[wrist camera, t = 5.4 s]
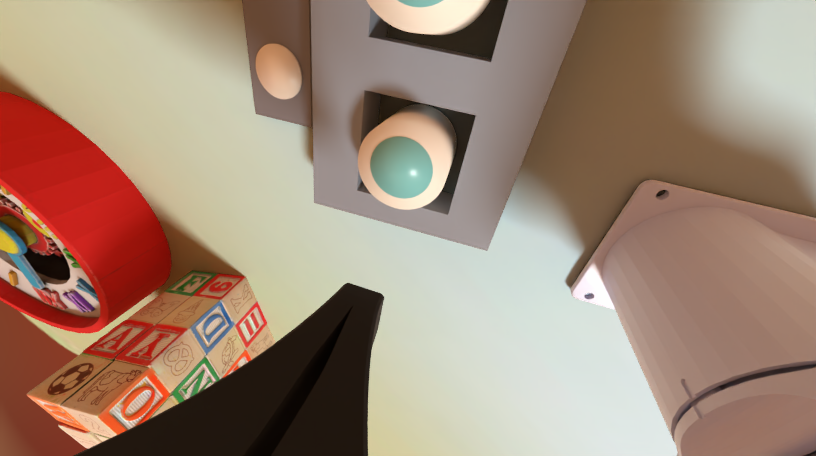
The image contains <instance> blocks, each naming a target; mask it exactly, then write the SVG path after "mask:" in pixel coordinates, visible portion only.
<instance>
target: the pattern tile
mask: <svg viewBox="0 0 816 456" xmlns="http://www.w3.org/2000/svg"><path fill="white" fill-rule="evenodd" d="M242 3H243V11H244V20H245V28H246V36H247V45H248V53H249V61H250V70H251V78H252V86H253V95H254V103H255V111H256V114H259V115H263V116H267V117H271V118H275V119H279V120H283V121H287V122H291V123H295V124H299V125H303V126H307V127H313V106H312V47H311V0H242Z"/></svg>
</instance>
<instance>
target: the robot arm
mask: <svg viewBox="0 0 816 456" xmlns="http://www.w3.org/2000/svg"><path fill="white" fill-rule="evenodd" d="M661 190H666V191H665V193H664V194H663V195H661V196H656V194H657V193H658V192H659V191H661ZM586 293H591V294H589V295H585V294H586ZM571 294H572V296H573V297H574V298H576V299H579V300H583V301H586V302H590V303H593V304H597V305H600V306H604V307H607V308H611V309H614V310H616V312H617V315H618V317H619V319H620V321H621V324H622V326H623V328H624V330H625V333H626V335H627V337H628V339H629V342H630V344H631V346H632V348H633V351H634V353H635V355H636V357H637V360H638V362H639V364H640V366H641V369H642V371H643V373H644V375H645V378H646V380H647V382H648V384H649V387H650V389H651V391H652V393H653V396H654V398H655V400H656V402H657V405H658V407H659V409H660V411H661V413H662V416H663V418H664V420H665V422H666V425H667V427H668V429H669V431H670V434H671V436H672V438H673V440H674V442H675V444H676V447H677V451H678V454H677V456H816V218H814V217H810V216H806V215H801V214H797V213H793V212H789V211H785V210H780V209H776V208H772V207H768V206H763V205H759V204H755V203H751V202H746V201H742V200H738V199H734V198H729V197H725V196H721V195H717V194H712V193H708V192H704V191H700V190H695V189H691V188H687V187H683V186H678V185H674V184H670V183H666V182H661V181H657V180H647V181H644V182H642V183H641V184H640V185H639V186H638V187H637V189H636V190H635V192H634V193H633V195H632V196H631V198H630V199H629V201H628V202H627V204H626V205H625V207H624V208H623V210H622V211H621V213H620V214H619V216H618V217H617V219H616V220H615V222H614V224H613V225H612V227H611V228H610V230H609V231H608V233H607V234H606V236H605V237H604V239H603V240H602V242H601V243H600V245H599V246H598V248H597V249H596V251H595V252H594V254H593V255H592V257H591V258H590V260H589V261H588V263H587V264H586V266H585V267H584V269H583V270H582V272H581V273H580V275H579V277H578V278H577V280H576V281H575V283H574V284H573V286H572V287H571ZM383 300H384V296H383V295H382V294H381V293H378V292H374V291H371V290H368V289H365V288H362V287H359V286H356V285H353V284H350V283H347V284H344V285H343V286H342V287H341V288H340V289H339V290H338V291H337V292H336V293H335V294H334V295H333V296H332V297H331V298H330V299H329V300H328V301H327V302H326V303H324V304H323V305H322V306H321V307H320V308H319V309H318V310H317V311H315V312H314V313H313V314H312V315H311V316H309V317H308V318H307V319H306V320H304V321H303V322H302V323H301V324H300V325H298V326H297V327H296V328H295V329H293V330H292V331H291V332H289V333H288V334H287V335H285V336H284V337H283V338H281V339H280V340H279V341H277V342H276V343H275V344H273V345H272V346H271V347H269V348H268V349H267V350H265V351H264V352H262V353H261V354H259V355H258V356H256V357H255V358H254V359H252V360H251V361H249V362H247V363H246V364H244V365H243V366H241V367H240V368H238V369H237V370H235V371H234V372H232V373H230V374H229V375H227V376H225V377H224V378H222V379H220V380H219V381H217V382H216V383H214V384H212V385H211V386H209V387H207V388H206V389H204V390H202V391H200V392H199V393H197V394H195V395H193V396H192V397H190V398H188V399H186V400H184V401H182V402H180V403H179V404H177V405H175V406H173V407H171V408H169V409H167V410H165V411H164V412H162V413H160V414H158V415H156V416H154V417H152V418H150V419H148V420H147V421H145V422H143V423H141V424H139V425H137V426H135V427H133V428H131V429H129V430H127V431H124V432H122V433H120V434H118V435H116V436H114V437H112V438H110V439H108V440H106V441H103V442H101V443H99V444H97V445H95V446H93V447H91V448H89V449H87V450H84V451H82V452H80V453H78V454H76V455H74V456H368V426H367V421H368V385H369V369H370V358H371V350H372V345H373V342H374V339H375V336H376V333H377V330H378V325H379V320H380V315H381V310H382V305H383Z"/></svg>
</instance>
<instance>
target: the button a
mask: <svg viewBox="0 0 816 456" xmlns="http://www.w3.org/2000/svg"><path fill="white" fill-rule="evenodd" d="M456 147H457V140H456V134H455V131H454V128H453V126H452V124H451V122H450V121H449V119H448V118H447V117H446V116H445V115H444V114H443V113H442V112H440V111H439V110H437V109H435V108H433V107H431V106H427V105H422V104H416V105H410V106H406V107H404V108H402V109H400V110H399V111H397V112H396V113H395V114H393V115H392V116H391V117H389V118H388V119H386V120H385V121H384V122H382V123H381V124H380V125H378V126H377V127H376V128H374V129H373V130H372V131H371V132H369V133H368V135H367V136H366V137H365V139H364V140H363V142H362V144H361V146H360V149H359V154H358V169H359V173H360V176H361V179H362V181H363V183H364V185H365V186H366V188H367V189H368V191H369V192H370V193H371V194H372V195H373V196H374V197H375V198H376V199H378V200H379V201H380V202H382V203H384V204H386V205H388V206H390V207H393V208H397V209H403V210H411V209H417V208H421V207H423V206H425V205H427V204H429V203H431V202H432V201H433V200H434V199H435V198H436V197H437V196H438V195H439V194H440V192H441V191H442V189H443V187H444V184H445V182H446V179H447V176H448V173H449V170H450V167H451V164H452V162H453V159H454V156H455V153H456Z"/></svg>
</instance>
